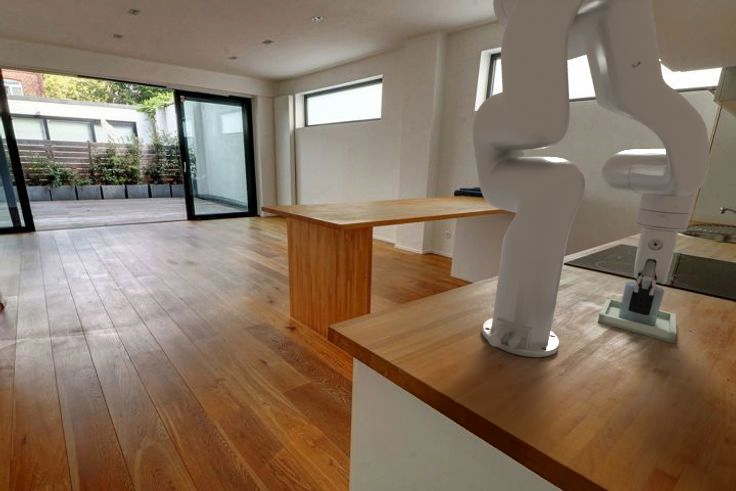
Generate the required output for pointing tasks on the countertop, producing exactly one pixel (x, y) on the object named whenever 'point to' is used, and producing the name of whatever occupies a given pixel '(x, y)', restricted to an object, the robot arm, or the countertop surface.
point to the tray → (661, 330)
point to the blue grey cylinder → (637, 317)
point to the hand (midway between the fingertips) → (639, 305)
